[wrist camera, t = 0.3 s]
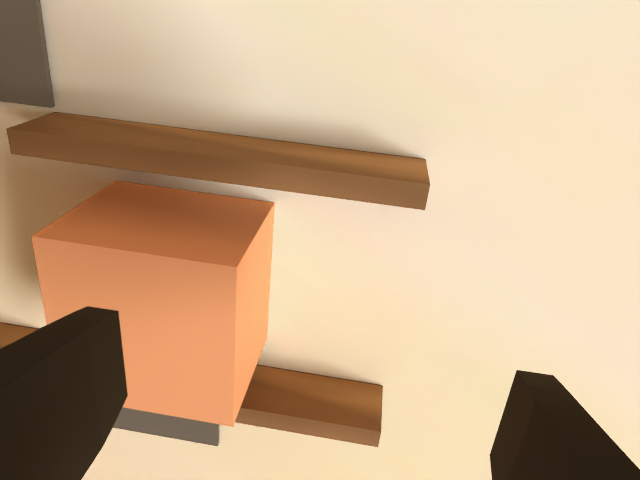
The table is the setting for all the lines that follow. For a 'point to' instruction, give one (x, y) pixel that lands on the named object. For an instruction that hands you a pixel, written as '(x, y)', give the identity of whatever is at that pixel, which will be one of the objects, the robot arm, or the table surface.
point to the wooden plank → (257, 171)
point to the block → (168, 290)
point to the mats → (35, 89)
